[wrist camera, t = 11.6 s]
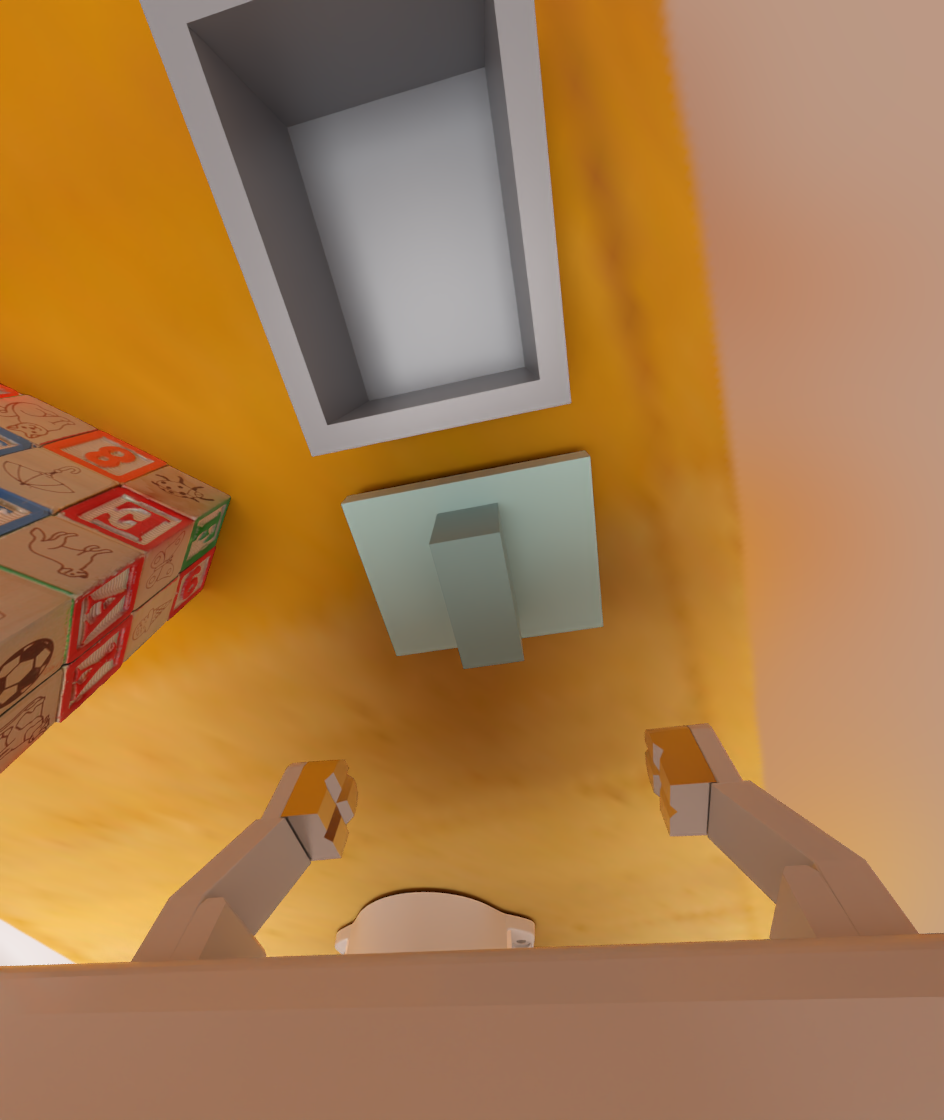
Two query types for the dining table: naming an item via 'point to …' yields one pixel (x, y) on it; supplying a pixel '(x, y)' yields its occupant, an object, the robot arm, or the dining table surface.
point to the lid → (483, 557)
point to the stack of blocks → (85, 559)
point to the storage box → (381, 202)
